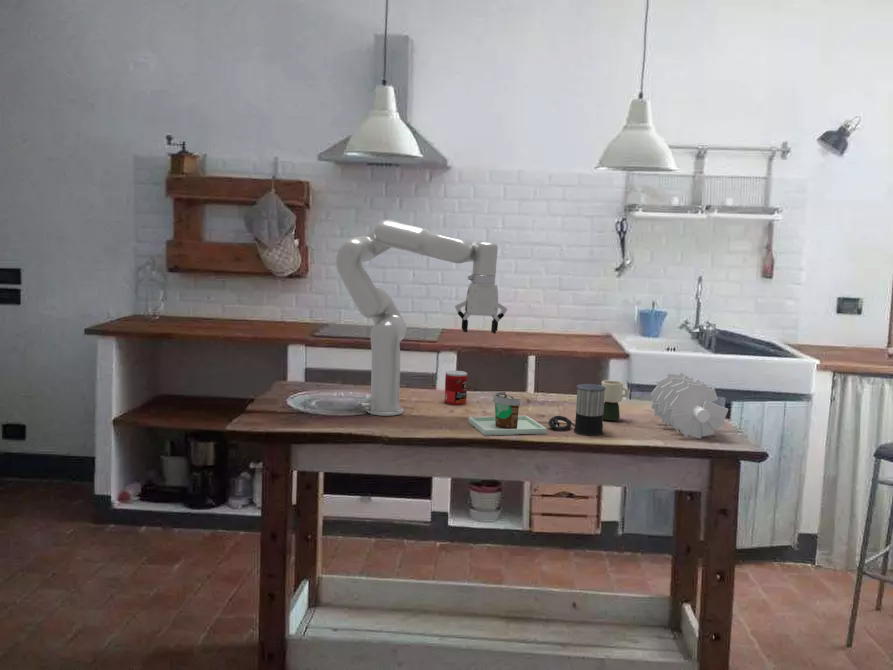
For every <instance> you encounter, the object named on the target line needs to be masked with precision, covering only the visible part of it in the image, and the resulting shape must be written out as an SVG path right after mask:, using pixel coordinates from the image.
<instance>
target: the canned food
mask: <svg viewBox="0 0 893 670" xmlns="http://www.w3.org/2000/svg"><path fill="white" fill-rule="evenodd" d="M444 382H445V384H444V402H445V404H447V405H452V406H463V404H464V405H466V404H467V398H468V396H467V394H468V393H467V391H468V372H466V371H464V370H448V371H445V381H444Z"/></svg>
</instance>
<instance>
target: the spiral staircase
mask: <svg viewBox="0 0 893 670" xmlns="http://www.w3.org/2000/svg"><path fill="white" fill-rule="evenodd" d="M650 396H651V397H652V400H651V402H652V403H651V410H653V411H654V412H653V413H654V416H656V417H657V416H658V417H660V419H661V421H662V423H665V424H669V426H670V427H671V428H672V429H673V430H676V432H678V431H680V432H681V433H682V434H683V436H684V437H685V438H687V437H688V436H690V437H693V438H697V439H701V438H702V437H707V436H711V435H715V434H716V432H717V431H718V429H719V428H721V427H722V426H723V425H724V424H726V422H725V420H726V417H727V414H728V411H729V408H727V407H725V406H721V405H719V404H716V403H713V402H715V401H718V400H719V398H718V395H717V392H716V389H715V387H712V388H710V387H709V385H707V384H706V383H704V382H701V381H700V380H699V379H698V378H696V379H694V378H693V377H692V376H687V375H686V374H684V373H683V372H682V371H679V373H666V376H665V377H663V378H661V379H659V380H657V381H656V386H655V388H654V389H653V390H652V392H651V393H650Z"/></svg>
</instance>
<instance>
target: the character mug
mask: <svg viewBox="0 0 893 670" xmlns="http://www.w3.org/2000/svg"><path fill="white" fill-rule="evenodd" d="M601 386H604V387H605V388H606V389H605V394H604V411H603V420H605V419H606V420H605V421H618V420H620V419H621V418H620V417H621V416H620V404H619V403H621V402H622V400H623V398H627V397H628V396H629V388H628V387H624V382H623V381H619V380H613V379H608V380H607V379H606V380H602V381H601ZM623 391H624V392H623Z"/></svg>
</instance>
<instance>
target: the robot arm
mask: <svg viewBox="0 0 893 670" xmlns="http://www.w3.org/2000/svg"><path fill="white" fill-rule="evenodd" d="M498 248H499V247H498V244H497V243H496V242H491V241H475V240H470V239H466V238H462V239H461V238H460V239H458V238H453V237H448V236H444V235H440V234H436V233H435V232H432V231H430V230H429V229H427V228H424V227H420V226H417V225H416V226H415V225H411V224H406V223H403V222H399V221H398V220H395V219H382V220H380V221H378V222H377V223H376V225H375V226H374V228H373V229H372V230H370V231H368V232H366V233H365V234H362V235H361V236H355V237H351V238H348V239H346V241H344V242H342V245H341V246H339V249H338V251H337V253H336V256H335V257H336V259H335V266H336V270H337V273H338V275H339V277H340V278H341V281H342V282H343V284H344V286H345V288H346V289H347V291H348V293H349V295H350V297H351V299H352V301H353V302H354V304H355V306H356V308H357V309H358V312H359V313H360V314H361V315H362V316H363V317H364V318H366V319H371V320H372V321H373V323H374V324H373V326H372V328H371V331H370V345H371V346H370V348H371V376H370V377H371V378H370V379H371V380H370V381H371V382H370V384H371V385H370V396H369V397H368V399H365V400H356V407H362V408H365V412H366V411H367V412H368V413H367V412H366V413H367V414H369V413H370V415H374V416H384V417H386V416H387V417H390V416H398V415H402V414H404V411H405V410H404V408H403V407H402V406H400V392H401V391H400V388H401V387H400V385H401V382H400V381H401V347H400V342H401V341H403V340H404V338H405V337H406V335H407V330H408V328H407V325H406V324H407V323H406V321H405V319H404V317H403V316H402V315H401V313H400V311H399V309H398V307H397V305H396V304H395V302H394V300H393V298H392V297H391V295H390V294H389V293H388V292H387V291H386V290H384V289H383V288H379V287H376V286H375V284H374V282H373V281H372V279H371V277H370V275H369V274H368V272H367V271H366V270H365V268H364V266H363V263H364V262H369V261H370V260H373V259H374V258H376V257H377V256H380V255H381V254H383V253H384V252H387V251H388V250H390V249H397V250H398V249H399V250H402V251H405V252H410V253H412V254H413V253H414V254H417V255H421V256H426V257H429V258H433V259H436V260H441V261H444V262H445V261H446V262H449V263H454V264H463V263H470V262H471V263H472V273H471V275H467V280H468V281H471V282H470V283H468V284H469V285H468V287H467V293H466V298H465V300H464V301H462V302H460V303H458V304H455V306H454V308H455V310H456V313H457V315H458V317H460V318H461V330H462V331H463V332H464V333H467V332H468V325H469V321H468V319H469V318H470V316H484V317H485V316H487V317H492V320H491V328H490V329H491V333H492V334H497V331H498V327H499V322H500V320H502V318H503V317H504V316H505V314H506V313H507V311H508V308H507V307H505V306H504V305H502V304H501V303H499V290H498V285H496V284H495V283H496V275H497V273H496V272H497V264H498V263H497V261H498ZM462 308H464V310H465V311H464V313H463V312H462V310H461V309H462ZM499 310H500V312H499ZM498 312H499V313H498Z"/></svg>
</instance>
